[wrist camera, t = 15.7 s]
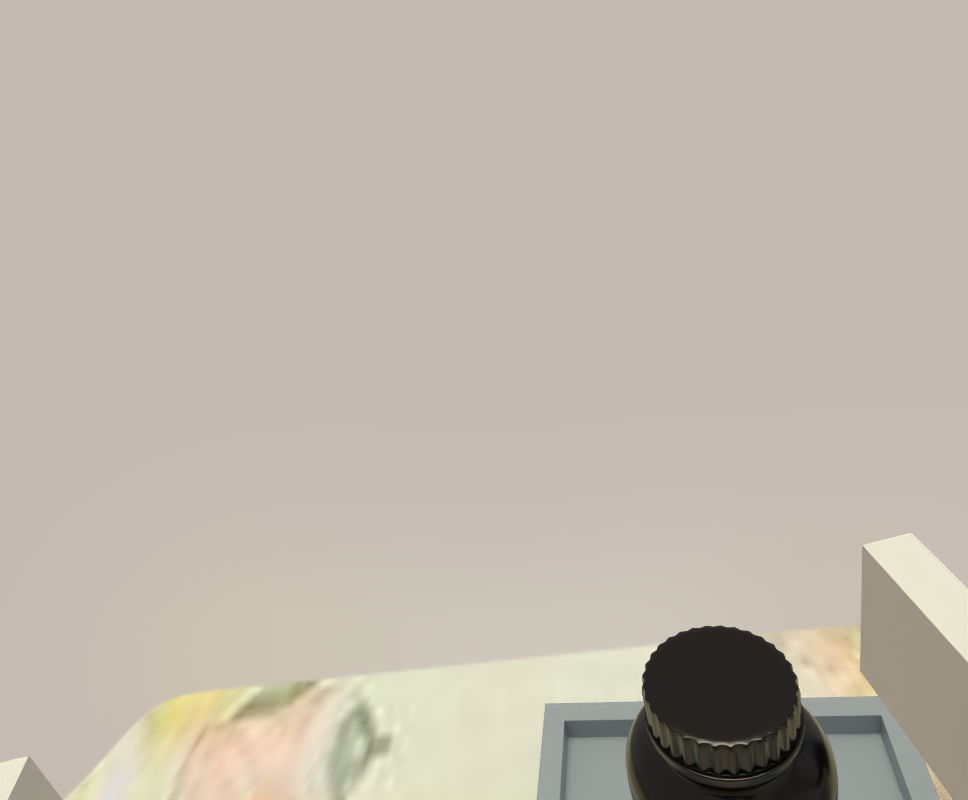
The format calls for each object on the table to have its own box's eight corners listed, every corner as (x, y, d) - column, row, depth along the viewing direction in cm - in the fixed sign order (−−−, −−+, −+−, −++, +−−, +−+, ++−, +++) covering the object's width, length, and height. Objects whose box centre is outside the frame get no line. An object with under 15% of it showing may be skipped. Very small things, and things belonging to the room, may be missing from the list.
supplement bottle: (703, 782, 34) (680, 575, 28) (867, 875, 29) (877, 650, 24) (616, 916, 30) (569, 705, 24) (790, 1049, 25) (780, 825, 20)
